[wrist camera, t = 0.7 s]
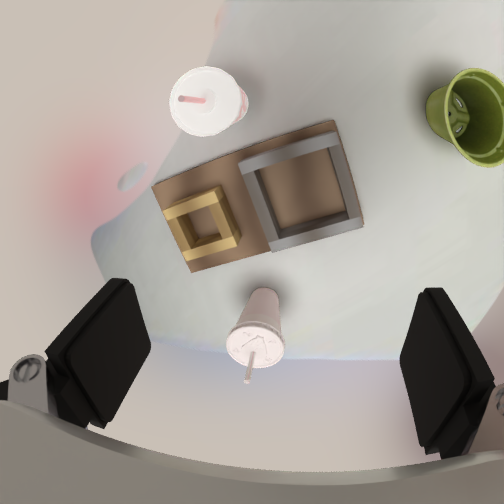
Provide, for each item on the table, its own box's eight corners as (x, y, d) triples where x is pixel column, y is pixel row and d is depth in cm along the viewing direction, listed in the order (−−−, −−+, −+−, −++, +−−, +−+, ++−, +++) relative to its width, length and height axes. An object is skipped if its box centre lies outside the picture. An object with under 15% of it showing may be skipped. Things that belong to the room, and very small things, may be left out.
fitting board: (332, 120, 29) (337, 120, 26) (362, 220, 34) (369, 234, 30) (155, 184, 35) (139, 193, 32) (194, 268, 40) (183, 284, 36)
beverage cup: (265, 91, 29) (242, 74, 17) (240, 140, 32) (202, 157, 19) (215, 70, 29) (162, 45, 16) (192, 117, 31) (128, 124, 19)
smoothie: (235, 309, 42) (210, 386, 29) (248, 271, 39) (224, 347, 26) (279, 323, 42) (268, 404, 29) (296, 287, 39) (291, 367, 26)
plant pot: (445, 169, 29) (483, 187, 21) (395, 107, 27) (426, 106, 20) (488, 122, 25) (531, 130, 18) (443, 60, 24) (481, 49, 16)
